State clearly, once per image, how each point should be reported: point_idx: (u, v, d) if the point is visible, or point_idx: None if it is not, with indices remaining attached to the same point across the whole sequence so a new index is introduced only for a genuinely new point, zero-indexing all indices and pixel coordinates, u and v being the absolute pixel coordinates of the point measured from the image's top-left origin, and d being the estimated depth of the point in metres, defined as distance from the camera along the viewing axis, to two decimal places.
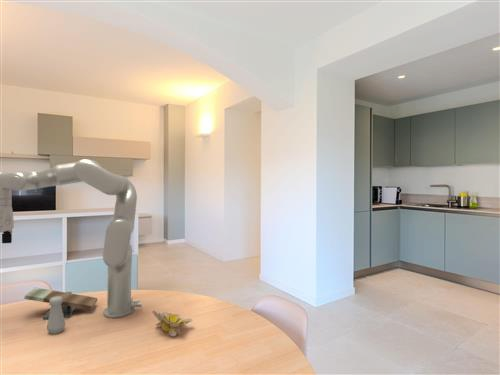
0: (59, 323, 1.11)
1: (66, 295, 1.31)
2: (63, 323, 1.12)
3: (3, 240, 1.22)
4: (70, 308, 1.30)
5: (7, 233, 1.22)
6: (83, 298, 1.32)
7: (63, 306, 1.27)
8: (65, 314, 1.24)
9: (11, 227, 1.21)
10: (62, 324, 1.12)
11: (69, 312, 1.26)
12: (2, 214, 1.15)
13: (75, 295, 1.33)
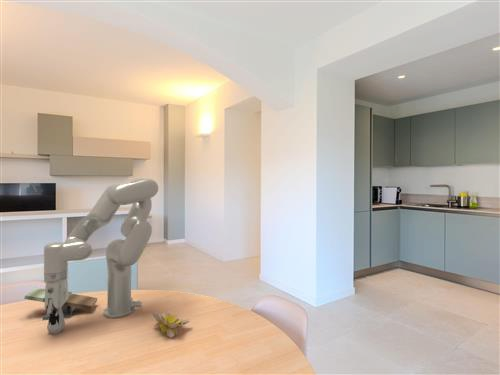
0: (59, 323, 1.11)
1: None
2: (63, 323, 1.12)
3: None
4: (70, 308, 1.30)
5: None
6: (83, 298, 1.32)
7: (63, 306, 1.27)
8: (65, 314, 1.24)
9: (66, 299, 1.15)
10: (62, 324, 1.12)
11: (69, 312, 1.26)
12: (60, 289, 1.09)
13: (75, 295, 1.33)
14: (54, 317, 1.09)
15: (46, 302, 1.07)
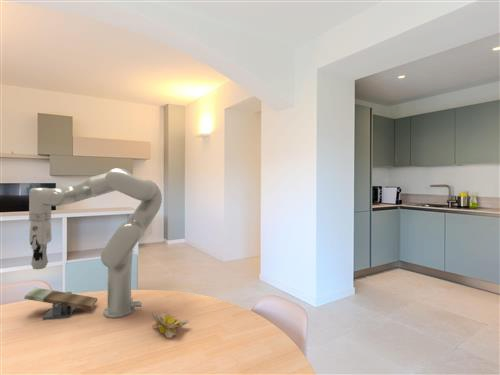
0: (42, 260, 1.23)
1: (66, 295, 1.31)
2: (46, 260, 1.24)
3: None
4: (70, 308, 1.30)
5: None
6: (83, 298, 1.32)
7: (63, 306, 1.27)
8: (65, 314, 1.24)
9: (50, 240, 1.27)
10: (45, 261, 1.24)
11: (69, 312, 1.26)
12: (44, 228, 1.21)
13: (75, 295, 1.33)
14: (38, 253, 1.21)
15: (31, 238, 1.19)
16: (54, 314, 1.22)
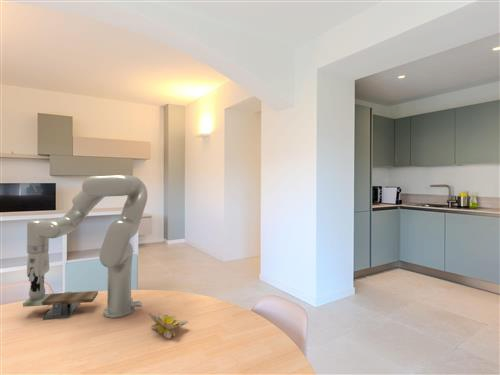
0: (40, 291, 1.25)
1: (66, 295, 1.31)
2: (43, 291, 1.26)
3: None
4: (70, 308, 1.30)
5: None
6: (83, 294, 1.32)
7: (63, 306, 1.27)
8: (65, 314, 1.24)
9: (47, 270, 1.29)
10: (42, 291, 1.26)
11: (69, 312, 1.26)
12: (41, 260, 1.23)
13: (75, 292, 1.33)
14: (35, 285, 1.24)
15: (28, 271, 1.21)
16: (54, 314, 1.22)
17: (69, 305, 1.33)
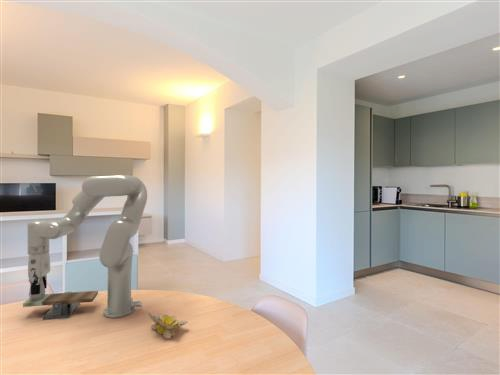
0: (40, 291, 1.25)
1: (66, 295, 1.31)
2: (43, 291, 1.26)
3: None
4: (70, 308, 1.30)
5: (42, 278, 1.29)
6: (83, 294, 1.32)
7: (63, 306, 1.27)
8: (65, 314, 1.24)
9: (48, 271, 1.29)
10: (42, 292, 1.26)
11: (69, 312, 1.26)
12: (42, 260, 1.23)
13: (75, 292, 1.33)
14: (35, 286, 1.22)
15: (29, 272, 1.21)
16: (54, 314, 1.22)
17: (69, 305, 1.33)
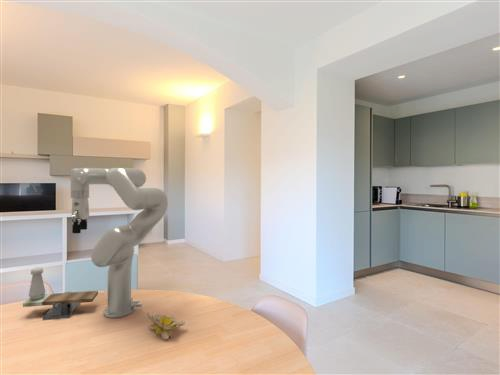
0: (40, 291, 1.25)
1: (66, 295, 1.31)
2: (43, 291, 1.26)
3: (80, 227, 1.43)
4: (70, 308, 1.30)
5: (83, 221, 1.43)
6: (83, 294, 1.32)
7: (63, 306, 1.27)
8: (65, 314, 1.24)
9: (88, 215, 1.42)
10: (42, 292, 1.26)
11: (69, 312, 1.26)
12: (84, 204, 1.36)
13: (75, 292, 1.33)
14: (76, 225, 1.33)
15: (73, 213, 1.33)
16: (54, 314, 1.22)
17: (69, 305, 1.33)
